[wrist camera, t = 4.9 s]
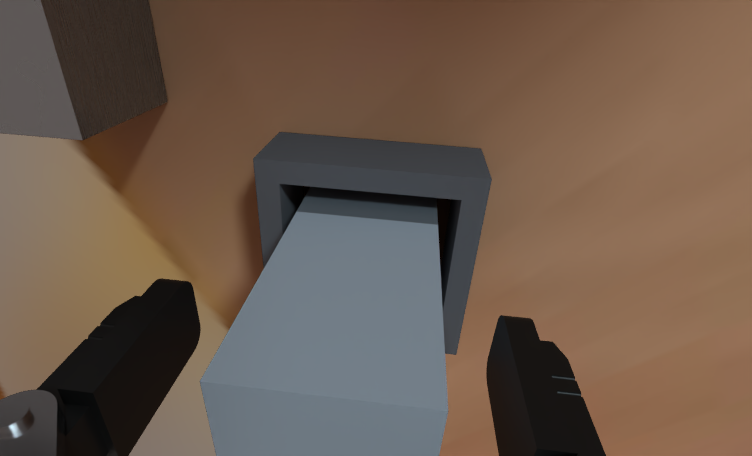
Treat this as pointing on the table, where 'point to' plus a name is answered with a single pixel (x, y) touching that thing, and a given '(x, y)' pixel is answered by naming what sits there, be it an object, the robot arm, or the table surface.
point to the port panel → (76, 66)
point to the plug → (338, 336)
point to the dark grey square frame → (382, 175)
